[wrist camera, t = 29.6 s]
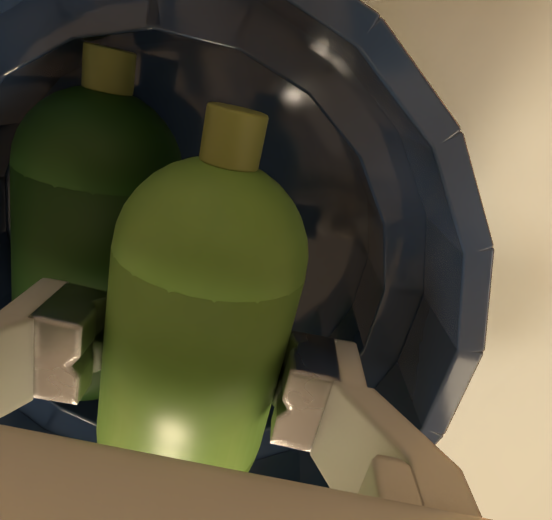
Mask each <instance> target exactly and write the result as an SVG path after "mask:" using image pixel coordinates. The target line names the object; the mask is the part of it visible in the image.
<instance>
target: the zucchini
mask: <svg viewBox="0 0 552 520" xmlns="http://www.w3.org/2000/svg"><path fill="white" fill-rule="evenodd" d="M136 57H137V56H136V54H135V53H133V52H129V51H125V50H121V49H117V48H113V47H108V46H104V45H100V44H95V43H90V42H84V43H83V55H82V78H81V85H82V86H73V87H69V88H66V89H63V90H60V91H56V92H54V93H52V94H51V95H49V96H47V97H45V98H44V99H42V100H40V101H39V102H38V103H37V104H36V105H35V106H34V107H33V108H32V109H31V110H30V111H29V112H28V113H27V114H26V115H25V117H24V118H23V120H22V121H21V123H20V124H19V126H18V127H17V129H16V132H15V135H14V138H13V140H12V143H11V151H10V160H9V165H10V230H11V295H12V301H13V300H14V299H16V298H17V297H18V296H19V295H21V294H22V293H23V292H25V291H26V290H27V289H29V288H30V287H31V286H32V285H34V284H35V283H36V282H38V281H39V280H40V279H42V278H50V279H56V280H61V281H66V282H69V283H74V284H78V285H82V286H87V287H91V288H95V289H100V290H104V291H107V290H108V278H109V265H110V253H111V243H112V239H113V234H114V229H115V225H116V221H117V219H118V217H119V214H120V212H121V210H122V208H123V205H124V204H125V202H126V201H127V200H128V198H129V197H130V195H131V194H132V193H133V191H134V190H135V189H136V188H137V187H138V186H139V185H140V184H141V183H142V182H143V181H145V180H146V179H147V178H148V177H149V176H150V175H151V174H153V173H154V172H156V171H158V170H159V169H161V168H163V167H165V166H167V165H169V164H171V163H173V162H176V161H180V160H182V158H181V152H180V150H179V147H178V144H177V142H176V139H175V137H174V135H173V134H172V132H171V130H170V129H169V127H168V126H167V124H166V123H165V121H164V120H163V119H162V118H161V117H160V116H159V115H158V114H157V113H156V111H155V110H153V109H152V108H151V107H150V106H148V105H147V104H146V103H144V102H143V101H142V100H140V99H138V98H136V97H134V96H132V95H133V91H134V80H135V69H136ZM100 378H101V370H100V371H97V372H95V373H93V374H92V384H91V385H90V387H89V388H88V390H87V391H86V393H85V394H84V396H83V397H82V399H81V400H80V401H89V400H97V399H99V391H100Z"/></svg>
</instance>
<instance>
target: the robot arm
mask: <svg viewBox="0 0 552 520" xmlns="http://www.w3.org/2000/svg"><path fill="white" fill-rule="evenodd" d="M106 303H107V291H104V290H100V289H95V288H91V287H87V286H82V285H78V284H74V283H69V282H66V281H61V280H56V279H50V278H42V279H40V280H39V281H38V282H36V283H35V284H34V285H32V286H31V287H30V288H29V289H27V290H26V291H25V292H23V293H22V294H21V295H19V296H18V297H17V298H16V299H14V300H13V301H12V302H10V303H9V304H8V305H6V306H5V307H4V308H2V309H1V310H0V418H1V417H3V416H5V415H7V414H9V413H11V412H12V411H14V410H16V409H18V408H20V407H21V406H23V405H25V404H27V403H29V402H31V401H32V400H33V398H38V399H44V400H50V401H56V402H62V403H68V404H73V405H77V404H78V403H79V401H80V400H81V399H82V397H83V396H84V394H85V393H86V391H87V390H88V388H89V387H90V385H91V384H92V374H93V373H95V372H97V371H100V370H101V366H102V353H103V341H104V328H105V316H106ZM272 405H273V406H274V411H273V415H272V419H271V434H270V443H271V444H276V445H280V446H285V447H289V448H293V449H298V450H302V451H307V452H310V456H311V457H312V459H313V461H314V462H315V464H316V466H317V467H318V469H319V471H320V472H321V474H322V476H323V477H324V479H325V481H326V482H327V484H328V486H329V487H330V488H326V487H321V486H316V485H311V484H306V483H300V482H295V481H290V480H285V479H280V478H274V477H269V476H264V475H259V474H254V473H249V472H243V471H238V470H233V469H228V468H223V467H218V466H212V465H207V464H202V463H197V462H192V461H187V460H181V459H176V458H171V457H166V456H161V455H156V454H150V453H145V452H140V451H135V450H130V449H125V448H119V447H114V446H109V445H104V444H99V443H94V442H88V441H83V440H78V439H73V438H68V437H63V436H57V435H52V434H47V433H42V432H37V431H32V430H27V429H21V428H16V427H11V426H6V425H1V424H0V520H491V519H486V518H482V516H481V513H480V511H479V509H478V506H477V504H476V502H475V500H474V497H473V495H472V493H471V490H470V488H469V486H468V483H467V481H466V479H465V476H464V474H463V472H462V470H461V469H460V468H459V467H458V466H457V465H456V464H455V463H454V462H453V461H452V460H451V459H450V458H449V457H447V456H446V455H445V454H444V453H443V452H442V451H441V450H440V449H439V448H438V447H437V446H436V445H434V444H433V443H432V442H431V441H430V440H429V439H428V438H427V437H426V436H425V435H424V434H423V433H421V432H420V431H419V430H418V429H417V428H416V427H415V426H414V425H413V424H412V423H411V422H410V421H408V420H407V419H406V418H405V417H404V416H403V415H402V414H401V413H400V412H399V411H398V410H397V409H395V408H394V407H393V406H392V405H391V404H390V403H389V402H388V401H387V400H386V399H385V398H384V397H382V396H381V395H380V394H379V393H378V392H377V391H376V390H375V389H373V388H369V387H367V384H366V380H365V376H364V372H363V368H362V364H361V360H360V356H359V352H358V348H357V344H356V343H355V342H352V341H346V340H340V339H334V338H330V337H324V336H319V335H313V334H308V333H302V332H297V331H292V330H291V334H290V337H289V341H288V345H287V348H286V352H285V356H284V360H283V363H282V367H281V371H280V374H279V378H278V382H277V385H276V389H275V393H274V397H273V402H272Z"/></svg>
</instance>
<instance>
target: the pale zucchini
mask: <svg viewBox="0 0 552 520" xmlns="http://www.w3.org/2000/svg"><path fill="white" fill-rule="evenodd" d="M268 119H269V118H268V115H266V114H264V113H262V112H259V111H255V110H252V109H248V108H244V107H240V106H235V105H230V104H225V103H219V102H208V103H207V106H206V112H205V119H204V126H203V132H202V139H201V146H200V152H199V156H196V157H191V158H187V159H183V160H180V161H176V162H173V163H171V164H169V165H167V166H165V167H163V168H161V169H159V170H158V171H156V172H154V173H153V174H151V175H150V176H149V177H148V178H147V179H146V180H145V181H143V182H142V183H141V184H140V185H139V186H138V187H137V188H136V189H135V190H134V191H133V193H132V194H131V195H130V197H129V198H128V200H127V201H126V202H125V204H124V205H123V208H122V210H121V212H120V214H119V217H118V219H117V221H116V225H115V229H114V234H113V239H112V243H111V253H110V265H109V278H108V290H107V303H106V316H105V328H104V341H103V353H102V366H101V378H100V391H99V403H98V416H97V428H96V432H97V443H99V444H104V445H109V446H114V447H119V448H125V449H130V450H135V451H140V452H145V453H150V454H156V455H161V456H166V457H171V458H176V459H181V460H187V461H192V462H197V463H202V464H207V465H212V466H218V467H223V468H228V469H233V470H238V471H243V472H249V470H250V468H251V466H252V465H253V463H254V460H255V458H256V456H257V453H258V451H259V448H260V445H261V441H262V437H263V433H264V430H265V426H266V422H267V419H268V415H269V411H270V408H271V404H272V400H273V397H274V393H275V389H276V385H277V382H278V378H279V374H280V371H281V367H282V363H283V360H284V356H285V352H286V348H287V345H288V341H289V337H290V334H291V330H292V326H293V323H294V319H295V315H296V312H297V308H298V304H299V300H300V297H301V293H302V289H303V286H304V282H305V277H306V270H307V264H308V258H309V256H308V239H307V235H306V232H305V228H304V224H303V221H302V218H301V215H300V213H299V211H298V210H297V208H296V206H295V204H294V202H293V200H292V199H291V198H290V196H289V195H288V194H287V193H286V191H285V190H284V189H283V188H282V187H281V185H280V184H279V183H278V182H276V181H275V180H274V179H273V178H271V177H270V176H269V175H268V174H266V173H265V172H264V171H262V170H260V169H259V164H260V159H261V154H262V149H263V144H264V139H265V134H266V129H267V124H268Z"/></svg>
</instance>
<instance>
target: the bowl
mask: <svg viewBox="0 0 552 520" xmlns="http://www.w3.org/2000/svg"><path fill="white" fill-rule="evenodd" d="M379 17H380V15H379V13H378V12H376V11H375V10H373V9H372V8H370V7H369V6H368V5H366V4H365V3H363V2H362V1H360V0H0V310H1V309H2V308H4V307H5V306H6V305H8V304H9V303H10V302H12V295H11V230H10V165H9V160H10V151H11V143H12V140H13V138H14V135H15V132H16V129H17V127H18V126H19V124H20V123H21V121H22V120H23V118H24V117H25V115H26V114H27V113H28V112H29V111H30V110H31V109H32V108H33V107H34V106H35V105H36V104H37V103H38V102H39V101H40V100H42V99H44V98H45V97H47V96H49V95H51V94H52V93H54V92H56V91H60V90H63V89H66V88H69V87H73V86H82V85H81V78H82V55H83V43H84V42H90V43H95V44H100V45H104V46H108V47H113V48H117V49H121V50H125V51H129V52H133V53H135V54H136V56H137V57H136V69H135V80H134V91H133V95H132V96H134V97H136V98H138V99H140V100H142V101H143V102H144V103H146V104H147V105H148V106H150V107H151V108H152V109H153V110H155V111H156V113H157V114H158V115H159V116H160V117H161V118H162V119H163V120H164V121H165V123H166V124H167V126H168V127H169V129H170V130H171V132H172V134H173V135H174V137H175V139H176V142H177V144H178V147H179V150H180V152H181V158H182V160H183V159H187V158H191V157H196V156H199V152H200V146H201V139H202V132H203V126H204V119H205V112H206V106H207V103H208V102H219V103H225V104H230V105H235V106H240V107H244V108H248V109H252V110H255V111H259V112H262V113H264V114H266V115H268V118H269V119H268V124H267V129H266V134H265V139H264V144H263V149H262V154H261V159H260V164H259V169H260V170H262V171H264V172H265V173H266V174H268V175H269V176H270V177H271V178H273V179H274V180H275V181H276V182H278V183H279V184H280V185H281V187H282V188H283V189H284V190H285V191H286V193H287V194H288V195H289V196H290V198H291V199H292V200H293V202H294V204H295V206H296V208H297V210H298V211H299V213H300V215H301V218H302V221H303V224H304V228H305V232H306V235H307V239H308V256H309V258H308V264H307V270H306V277H305V282H304V286H303V289H302V293H301V297H300V300H299V304H298V308H297V312H296V315H295V319H294V323H293V326H292V331H297V332H302V333H308V334H313V335H319V336H324V337H330V338H334V339H340V340H346V341H352V342H355V343H356V344H357V348H358V352H359V356H360V360H361V364H362V368H363V372H364V376H365V380H366V384H367V387H369V388H373V389H375V390H376V391H377V392H378V393H379V394H380V395H381V396H382V397H384V398H385V399H386V400H387V401H388V402H389V403H390V404H391V405H392V406H393V407H394V408H395V409H397V410H398V411H399V412H400V413H401V414H402V415H403V416H404V417H405V418H406V419H407V420H408V421H410V422H411V423H412V424H413V425H414V426H415V427H416V428H417V429H418V430H419V431H420V432H421V433H423V434H424V435H425V436H426V437H427V438H428V439H429V440H430V441H431V442H432V443H433V444H434V445H435V444H436V443H437V442H438V441H439V440H440V439H441V438H442V437H443V434H445V433H446V430H447V428H448V426H449V424H450V422H451V420H452V418H453V416H454V414H455V412H456V410H457V408H458V405H459V403H460V401H461V399H462V397H463V395H464V393H465V391H466V389H467V387H468V385H469V382H470V380H471V378H472V376H473V374H474V372H475V370H476V368H477V366H478V364H479V362H480V360H481V357H482V355H483V351H484V350H485V341H486V331H487V320H488V309H489V299H490V288H491V278H492V267H493V257H494V248H493V241H492V237H491V234H490V230H489V226H488V223H487V219H486V215H485V212H484V208H483V204H482V201H481V197H480V193H479V189H478V186H477V182H476V178H475V175H474V171H473V167H472V164H471V160H470V156H469V153H468V149H467V145H466V142H465V138H464V134H463V133H462V132H461V131H460V130H461V129H460V126H459V124H458V123H457V122H456V120H455V119H454V117H453V116H452V115H451V113H450V112H449V110H448V109H447V108H446V106H445V105H444V103H443V102H442V100H441V99H440V98H439V96H438V95H437V93H436V92H435V91H434V89H433V88H432V86H431V85H430V84H429V82H428V81H427V79H426V78H425V77H424V75H423V74H422V72H421V71H420V69H419V68H418V67H417V65H416V64H415V62H414V61H413V60H412V58H411V57H410V55H409V54H408V53H407V51H406V50H405V48H404V47H403V46H402V44H401V43H400V41H399V40H398V39H397V37H396V36H395V34H394V33H393V31H392V30H391V29H390V27H389V26H388V24H387V23H386V22H385V20H384V19H383V18H381V17H380V18H379ZM272 402H273V400H272ZM98 403H99V399H97V400H89V401H79V403H78V404H77V405H73V404H68V403H62V402H56V401H50V400H44V399H38V398H33V400H32V401H31V402H29V403H27V404H25V405H23V406H21V407H20V408H18V409H16V410H14V411H12V412H11V413H9V414H7V415H5V416H3V417H1V418H0V424H1V425H6V426H11V427H16V428H21V429H27V430H32V431H37V432H42V433H47V434H52V435H57V436H63V437H68V438H73V439H78V440H83V441H88V442H94V443H97V432H96V428H97V416H98ZM273 411H274V406H273V405H272V404H271V408H270V411H269V415H268V419H267V422H266V426H265V430H264V433H263V437H262V441H261V445H260V448H259V451H258V453H257V456H256V458H255V460H254V463H253V465H252V466H251V468H250V470H249V473H254V474H259V475H264V476H269V477H274V478H280V479H285V480H290V481H295V482H300V483H306V484H311V485H316V486H321V487H326V488H330V487H329V486H328V484H327V482H326V481H325V479H324V477H323V476H322V474H321V472H320V471H319V469H318V467H317V466H316V464H315V462H314V461H313V459H312V457H311V456H310V452H307V451H302V450H298V449H293V448H289V447H285V446H280V445H276V444H271V443H270V434H271V419H272V415H273Z"/></svg>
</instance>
